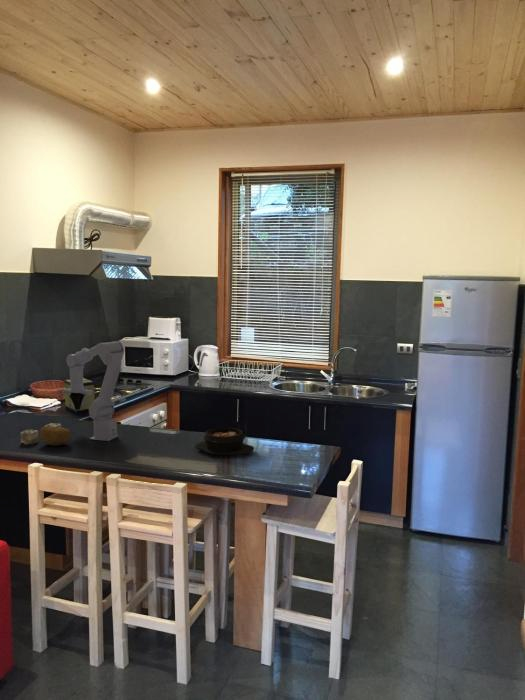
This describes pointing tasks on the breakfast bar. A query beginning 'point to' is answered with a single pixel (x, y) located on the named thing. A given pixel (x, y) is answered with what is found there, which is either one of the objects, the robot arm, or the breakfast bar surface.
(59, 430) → the potato
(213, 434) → the casserole
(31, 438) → the pip block four
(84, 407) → the protein box
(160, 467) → the breakfast bar surface
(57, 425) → the pip block two
